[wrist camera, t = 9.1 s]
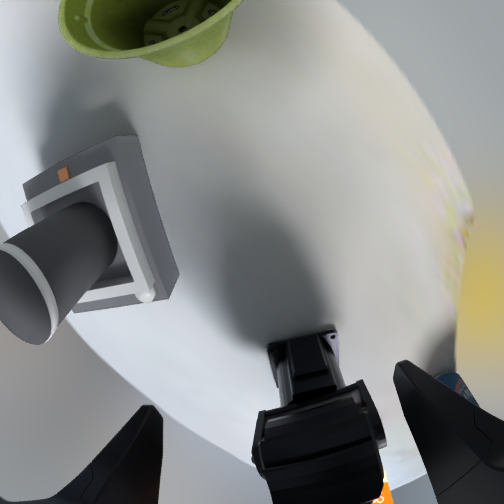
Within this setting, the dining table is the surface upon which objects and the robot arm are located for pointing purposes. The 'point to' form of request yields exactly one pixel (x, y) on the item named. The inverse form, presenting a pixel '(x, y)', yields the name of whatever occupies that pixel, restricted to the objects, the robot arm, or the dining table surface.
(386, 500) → the orange juice
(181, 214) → the dining table surface
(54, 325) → the lens
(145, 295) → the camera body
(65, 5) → the plant pot
